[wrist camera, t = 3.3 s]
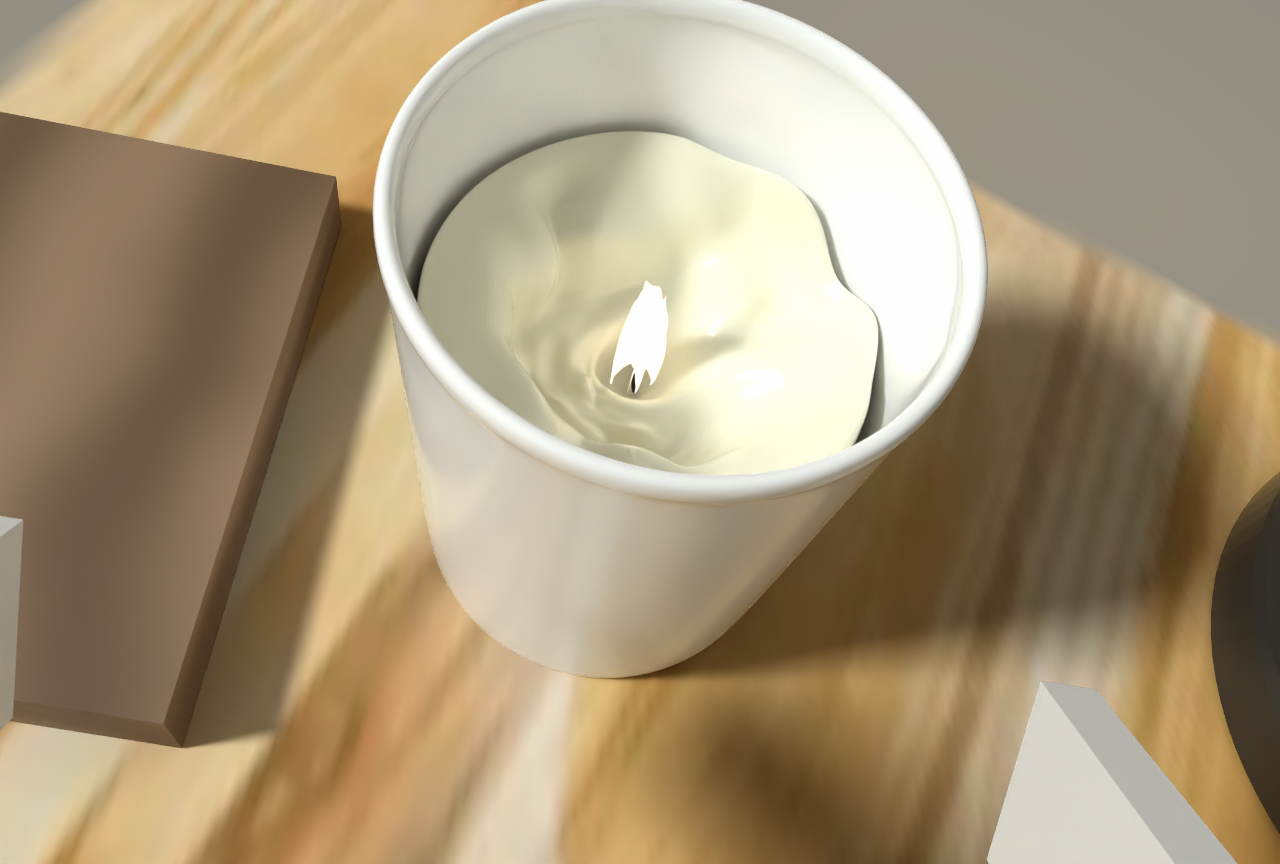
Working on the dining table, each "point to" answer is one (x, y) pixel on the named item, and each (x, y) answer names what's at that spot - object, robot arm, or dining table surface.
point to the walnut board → (140, 404)
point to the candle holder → (660, 311)
